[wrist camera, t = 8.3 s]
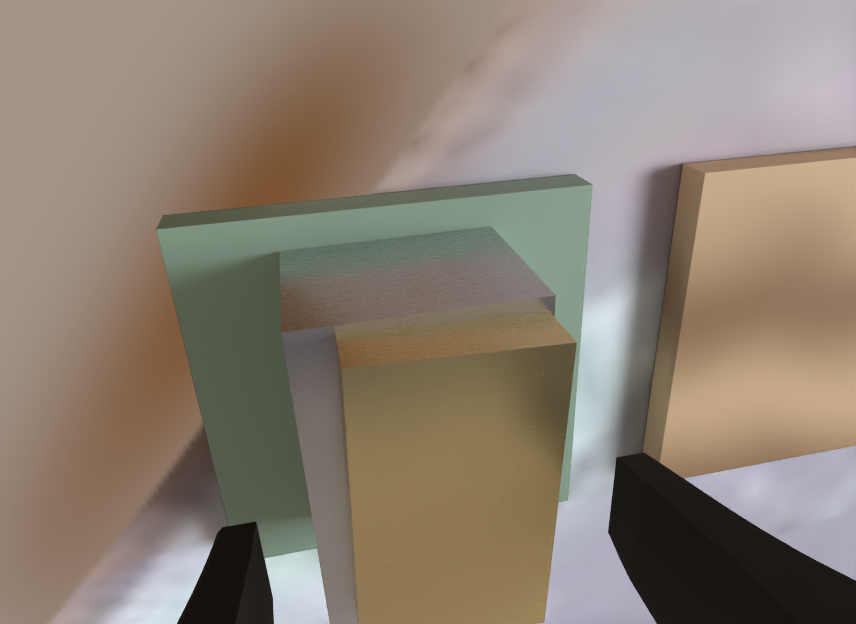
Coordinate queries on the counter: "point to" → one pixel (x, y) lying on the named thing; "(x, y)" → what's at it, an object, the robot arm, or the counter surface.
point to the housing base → (368, 310)
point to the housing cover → (454, 466)
